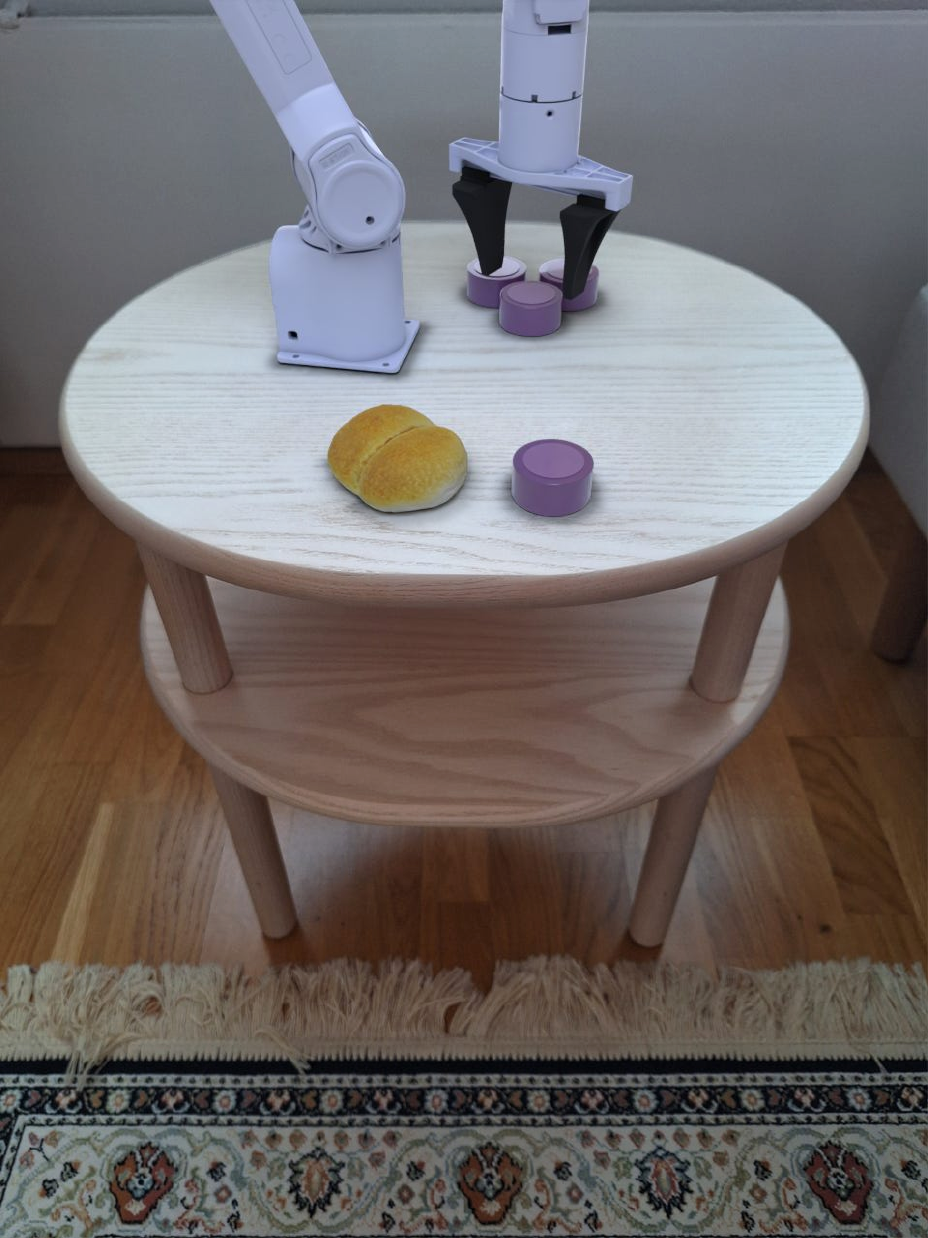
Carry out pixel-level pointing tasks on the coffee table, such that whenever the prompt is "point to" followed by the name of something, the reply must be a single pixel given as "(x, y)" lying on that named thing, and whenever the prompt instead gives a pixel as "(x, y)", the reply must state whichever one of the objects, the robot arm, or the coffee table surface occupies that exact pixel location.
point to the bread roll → (398, 459)
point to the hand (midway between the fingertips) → (531, 282)
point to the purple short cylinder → (493, 281)
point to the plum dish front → (552, 477)
